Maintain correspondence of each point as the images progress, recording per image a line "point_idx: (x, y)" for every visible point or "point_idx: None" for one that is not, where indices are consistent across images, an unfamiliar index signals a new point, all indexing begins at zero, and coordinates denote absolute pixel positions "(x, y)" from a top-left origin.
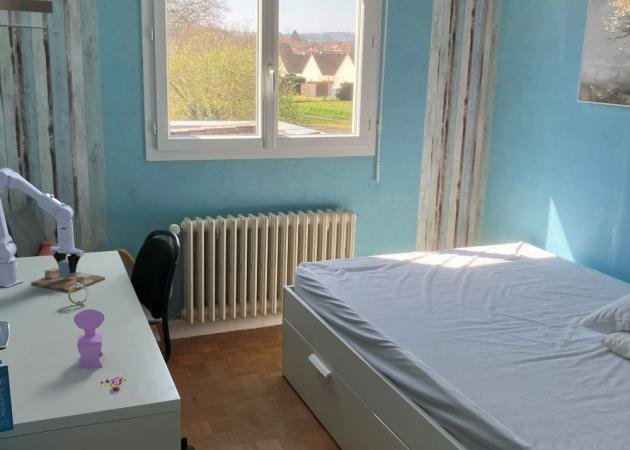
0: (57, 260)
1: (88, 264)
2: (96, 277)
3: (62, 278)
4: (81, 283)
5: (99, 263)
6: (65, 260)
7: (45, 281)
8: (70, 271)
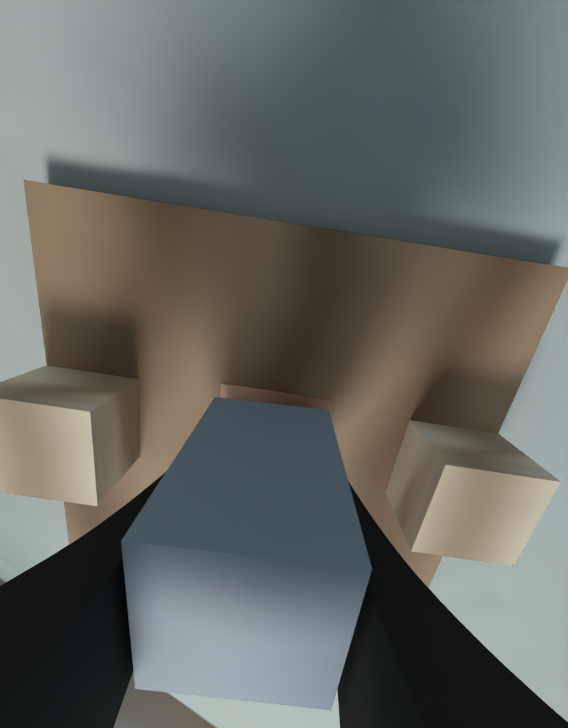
0: (419, 624)
1: None
2: None
3: None
4: None
5: (312, 715)
6: (298, 665)
7: (434, 334)
8: None
